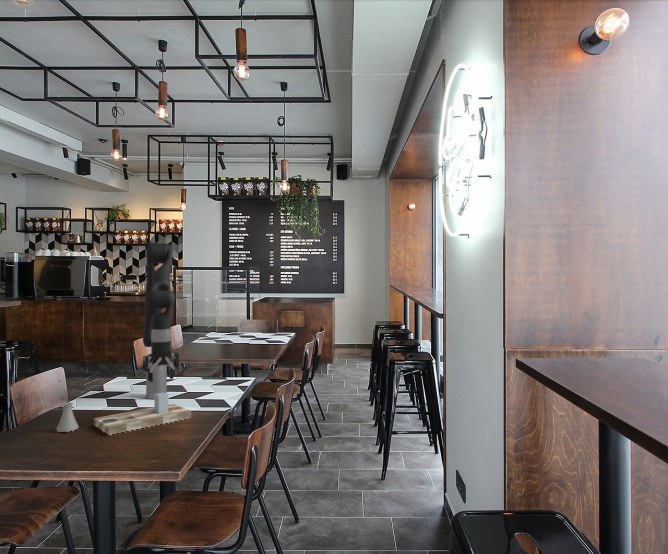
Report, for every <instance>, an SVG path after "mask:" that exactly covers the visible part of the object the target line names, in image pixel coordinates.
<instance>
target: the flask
mask: <svg viewBox="0 0 668 554" xmlns="http://www.w3.org/2000/svg"><path fill="white" fill-rule="evenodd" d="M73 404H74V403H72V402H66V403H62V404H61V405H62V408H63V410H62V414H61V417H60V420H59V422H58V424H57V427H56V429H55V432H56V431H57V433H59V432H68V433H71V432H70V431H72V432H75V431H74V430H76V429H77V430H79V429H80V426H79V424H78V422H77V420H76V418H75V415H74V412H73ZM78 428H79V429H78ZM77 430H76V431H77Z"/></svg>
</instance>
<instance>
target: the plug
mask: <svg viewBox="0 0 668 554" xmlns="http://www.w3.org/2000/svg"><path fill="white" fill-rule="evenodd" d="M153 400H154V401H153V403H154V406H153V407H154V413H157V414H160V413H165V412H168V405H169V393H168V392H167V393H157V394H154V399H153Z"/></svg>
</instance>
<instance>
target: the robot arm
mask: <svg viewBox="0 0 668 554" xmlns="http://www.w3.org/2000/svg"><path fill="white" fill-rule="evenodd" d="M173 253H174V251H173V247H172V245H171V244H170V243H167V242H165V243H163V242H149V243H147V246H146V253H145V255H146V258H145V259H146V264H145V265H146V279H145V280H146V281H145V292H144V295H145V297H144V299H145V300H144V324H143V331H142V333H143V334H142V343H143V345H144V347H146V348H151V349H150V352H151V353H149V354H147V355H143V357H142V369H141V370H142V372H145V375H146V376H145V381H146V383H145V388H146V389H145V397H146V399H149V400H154V394H157V393H167V394H168V391H167V390H168V388H167V386H168V378H169V379H171V380H173V379H174V378H175V376H176V375H175V369H177V368H179V367H180V355H179V354H180V353H178V352H173V353H172V331H171V320H172V319H171V317H172V311H173V308H174V305H175V302H176V295H175V293H174V291H172V290H170V289H171V271H172V265H173V257H174V256H173ZM154 264H161V265H160V266H159V267H158V268H157V269H156V268H155V265H154ZM163 309H164V311H163ZM162 311H163V312H162ZM171 358H172V359H173V362H172V361H171ZM167 367H168V368H169V373H168V370H167V369H168V368H167ZM167 374H168V375H167ZM168 376H169V377H168ZM167 377H168V378H167Z"/></svg>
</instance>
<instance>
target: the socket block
mask: <svg viewBox="0 0 668 554" xmlns="http://www.w3.org/2000/svg"><path fill="white" fill-rule="evenodd" d="M189 418H191V419H192V411H191V410H190V409H187V408H185V407H183V406H179V405H178V404H175V403H171V404H168V412H165V413H160V414H157V413H154V406H153V407H148V408H143V409H142V408H141V409H138V410H133V411H132V410H131V411H127V412H122V413H121V412H120V413H116V414H115V413H114V414H111V415H105V416H99V417H95V418H93V421H94V422H93V426H94V425H95V426H96V427H98V428H99V429H101V430H102V431H103V432H102V431H101V430H100V431H101V432H102V433H104V432H105V433H107V434H108V435H110V436H113V435H112V434H115V435H117V434H116V433H119V434H122V433H121V432H124V433H127V432H126V431H129V432H132V431H131V430H134V431H137V430H136V429H139V430H142V429H141V428H144V429H146V428H145V427H148V428H152V427H151V426H153V427H156V426H155V425H158V426H161V425H160V424H163V425H166V424H165V423H168V424H171V423H170V422H172V423H175V422H174V421H177V422H180V421H179V420H182V421H185V420H184V419H187V420H190V419H189ZM95 426H94V427H95ZM96 427H95V428H96ZM98 428H97V429H98ZM99 429H98V430H99ZM105 433H104V434H105ZM107 434H106V435H107ZM108 435H107V436H108Z"/></svg>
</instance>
